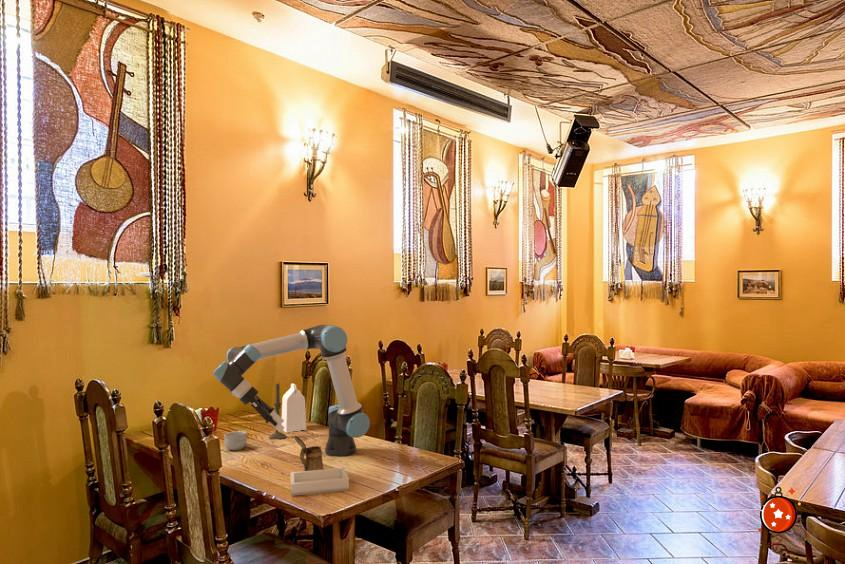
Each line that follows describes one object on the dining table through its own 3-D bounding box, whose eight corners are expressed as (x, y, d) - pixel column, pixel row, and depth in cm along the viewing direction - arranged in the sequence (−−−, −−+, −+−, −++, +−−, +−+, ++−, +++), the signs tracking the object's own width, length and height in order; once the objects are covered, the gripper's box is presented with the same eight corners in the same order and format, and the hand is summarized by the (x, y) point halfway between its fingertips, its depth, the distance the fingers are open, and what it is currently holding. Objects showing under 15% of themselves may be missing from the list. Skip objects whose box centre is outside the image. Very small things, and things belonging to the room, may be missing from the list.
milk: (281, 428, 323) (280, 383, 324) (300, 426, 329) (300, 382, 330) (286, 432, 313) (286, 386, 314) (306, 430, 318) (306, 384, 319)
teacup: (239, 452, 274) (239, 436, 274) (219, 451, 276) (219, 435, 276) (253, 445, 287) (253, 429, 288) (234, 444, 290) (234, 428, 290)
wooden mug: (289, 476, 237) (289, 433, 237) (317, 469, 246) (317, 428, 246) (299, 481, 230) (299, 437, 230) (328, 474, 239) (328, 432, 239)
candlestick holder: (285, 434, 308) (284, 380, 309) (287, 438, 300) (287, 382, 300) (268, 436, 305) (267, 381, 306) (269, 440, 296) (269, 384, 297)
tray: (344, 478, 233) (344, 467, 233) (348, 490, 219) (348, 478, 219) (290, 483, 228) (290, 472, 228) (291, 496, 213) (291, 484, 213)
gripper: (240, 394, 243) (275, 426, 247) (236, 404, 219) (275, 440, 223) (253, 381, 245) (288, 414, 248) (250, 390, 221) (289, 426, 224)
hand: (282, 426), depth 235 cm, fingers open, 13 cm apart
